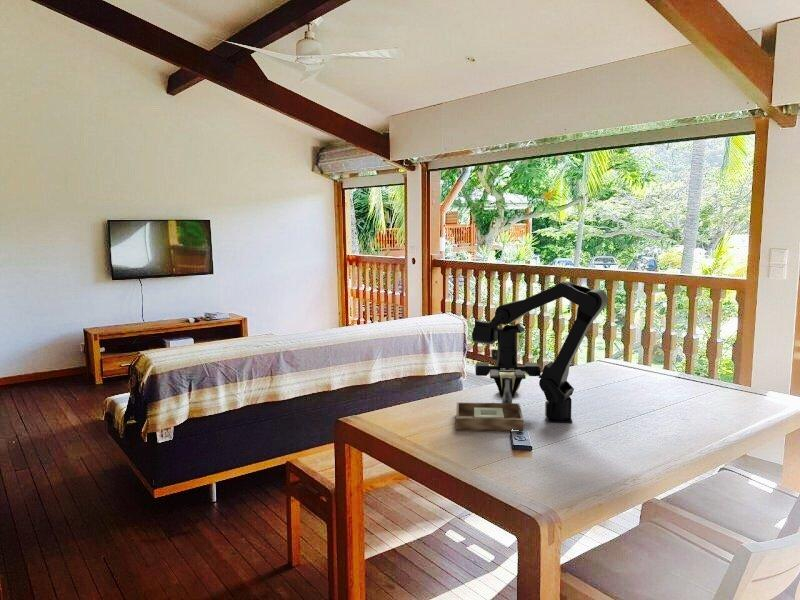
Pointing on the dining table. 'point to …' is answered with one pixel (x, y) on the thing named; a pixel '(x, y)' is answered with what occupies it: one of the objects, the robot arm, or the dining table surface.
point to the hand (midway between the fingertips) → (507, 397)
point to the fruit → (508, 374)
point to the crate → (506, 424)
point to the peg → (506, 389)
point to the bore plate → (488, 413)
